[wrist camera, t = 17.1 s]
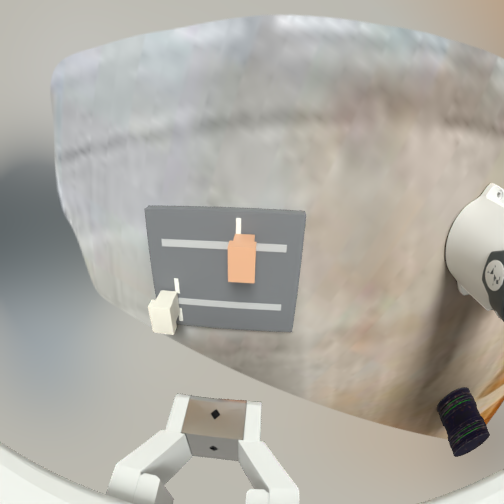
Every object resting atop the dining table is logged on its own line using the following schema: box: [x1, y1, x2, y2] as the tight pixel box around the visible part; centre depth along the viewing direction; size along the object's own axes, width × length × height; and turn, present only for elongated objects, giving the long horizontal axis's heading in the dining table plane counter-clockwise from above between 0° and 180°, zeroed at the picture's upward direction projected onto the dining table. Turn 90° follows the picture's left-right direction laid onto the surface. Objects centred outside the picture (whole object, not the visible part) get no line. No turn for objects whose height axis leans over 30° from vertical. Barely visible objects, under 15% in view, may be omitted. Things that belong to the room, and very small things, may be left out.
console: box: [145, 206, 306, 332], centre depth 40 cm, size 20×18×2 cm
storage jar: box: [437, 387, 490, 457], centre depth 47 cm, size 10×10×15 cm
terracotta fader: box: [228, 234, 256, 283], centre depth 35 cm, size 3×4×5 cm
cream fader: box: [148, 290, 180, 335], centre depth 39 cm, size 3×4×5 cm
